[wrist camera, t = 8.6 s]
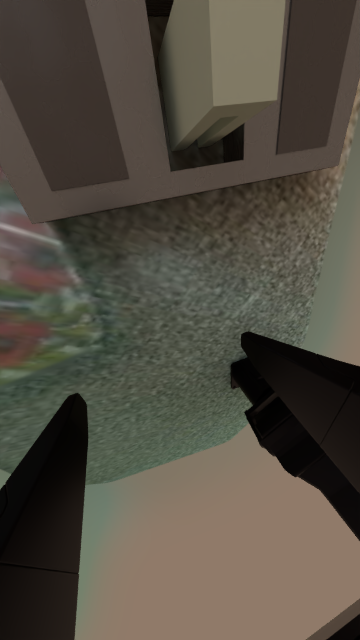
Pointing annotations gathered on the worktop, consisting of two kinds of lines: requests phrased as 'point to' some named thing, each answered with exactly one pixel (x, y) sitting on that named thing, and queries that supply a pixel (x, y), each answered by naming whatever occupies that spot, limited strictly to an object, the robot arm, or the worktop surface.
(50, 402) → the worktop surface
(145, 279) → the worktop surface
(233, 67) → the beige slotted block
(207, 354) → the worktop surface
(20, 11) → the grey slotted tray
